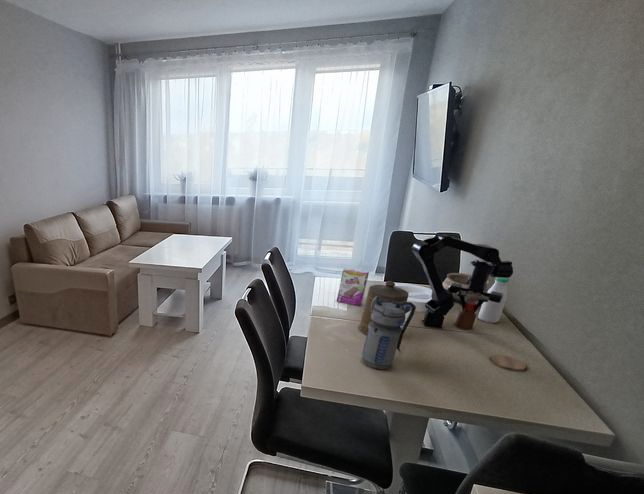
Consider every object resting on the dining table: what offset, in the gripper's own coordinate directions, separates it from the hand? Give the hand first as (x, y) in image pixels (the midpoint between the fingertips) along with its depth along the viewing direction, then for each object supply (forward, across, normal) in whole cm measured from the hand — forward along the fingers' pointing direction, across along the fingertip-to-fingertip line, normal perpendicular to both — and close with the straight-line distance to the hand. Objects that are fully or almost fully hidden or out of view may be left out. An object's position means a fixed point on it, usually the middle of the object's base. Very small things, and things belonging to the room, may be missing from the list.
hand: (468, 311), depth 176 cm
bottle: (+7, 0, 0) cm, 7 cm away
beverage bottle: (+7, +15, +61) cm, 63 cm away
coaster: (+7, -19, +27) cm, 33 cm away
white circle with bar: (+7, +27, -16) cm, 32 cm away
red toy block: (-1, 0, 0) cm, 1 cm away
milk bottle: (+7, -6, -17) cm, 20 cm away
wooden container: (+7, +25, +32) cm, 41 cm away
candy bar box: (+7, +47, +8) cm, 48 cm away
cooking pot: (+8, +8, -35) cm, 37 cm away
